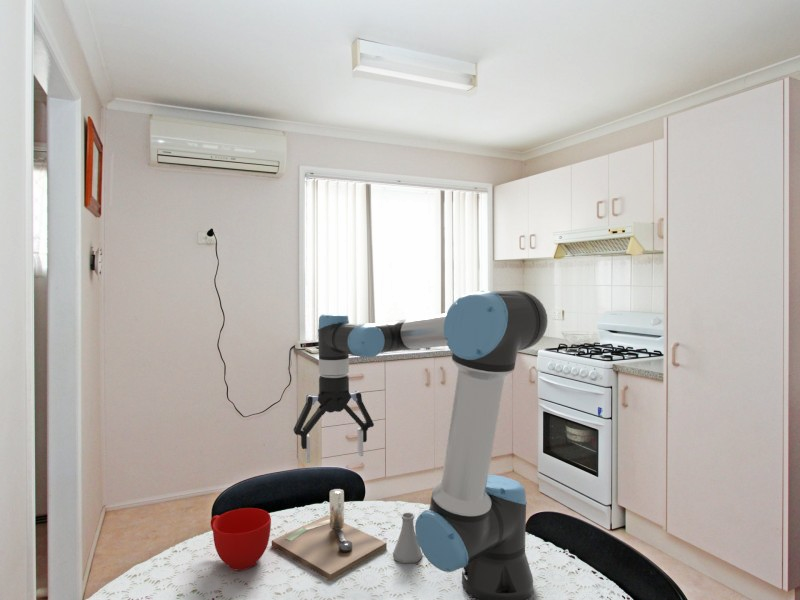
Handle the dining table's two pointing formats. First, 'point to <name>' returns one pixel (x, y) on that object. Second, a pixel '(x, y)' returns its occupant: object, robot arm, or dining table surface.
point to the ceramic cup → (241, 536)
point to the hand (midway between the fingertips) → (334, 457)
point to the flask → (407, 542)
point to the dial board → (328, 547)
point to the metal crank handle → (338, 518)
